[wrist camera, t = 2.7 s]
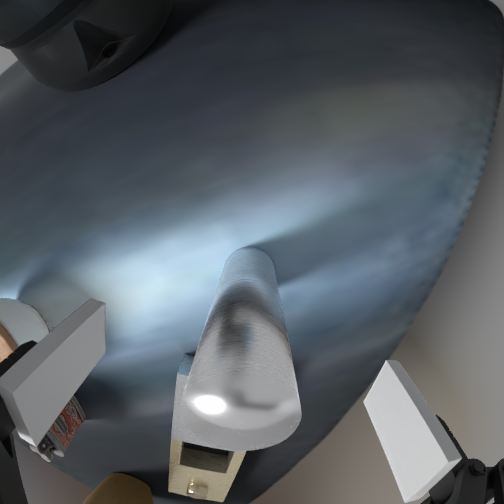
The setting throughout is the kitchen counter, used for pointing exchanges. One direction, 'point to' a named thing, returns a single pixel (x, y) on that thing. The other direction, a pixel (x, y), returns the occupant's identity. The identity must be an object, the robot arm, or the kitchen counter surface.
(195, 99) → the kitchen counter surface
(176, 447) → the frame
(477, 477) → the robot arm
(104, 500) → the plant pot
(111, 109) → the kitchen counter surface
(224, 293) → the pin
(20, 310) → the lidded jar
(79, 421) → the lighter
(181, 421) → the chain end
